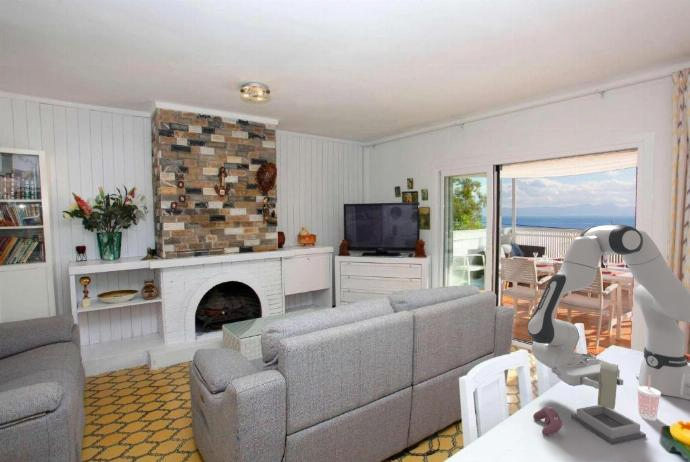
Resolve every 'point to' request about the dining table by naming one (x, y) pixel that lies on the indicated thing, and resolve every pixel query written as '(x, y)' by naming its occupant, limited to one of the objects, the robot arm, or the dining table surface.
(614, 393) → the skincare box
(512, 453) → the dining table surface
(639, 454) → the dining table surface
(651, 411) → the beverage cup
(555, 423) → the video game controller
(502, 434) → the dining table surface
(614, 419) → the socket dock
